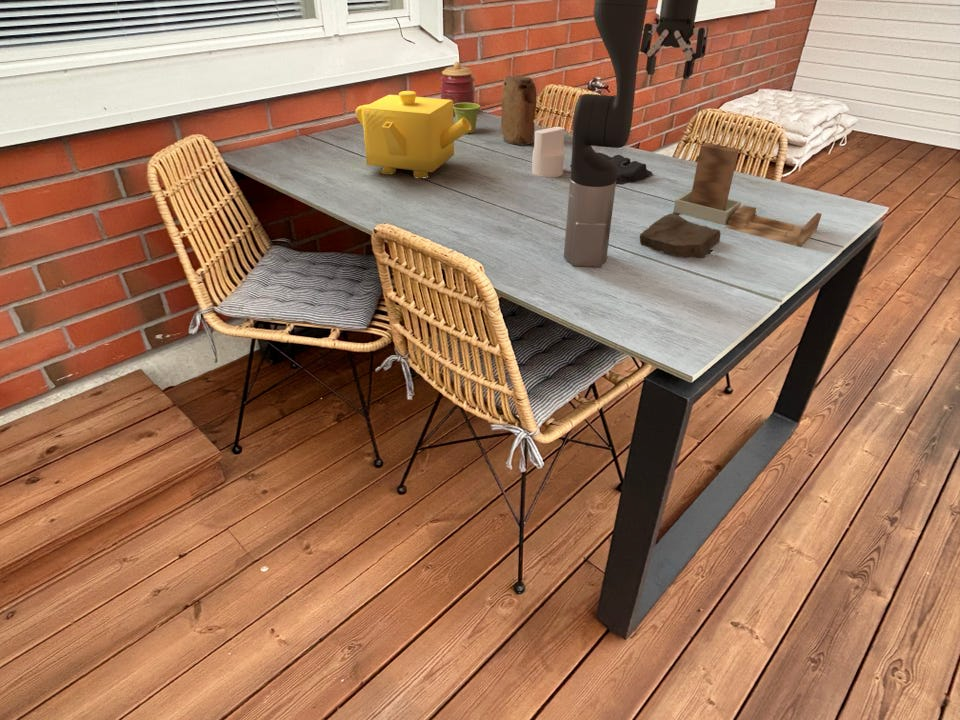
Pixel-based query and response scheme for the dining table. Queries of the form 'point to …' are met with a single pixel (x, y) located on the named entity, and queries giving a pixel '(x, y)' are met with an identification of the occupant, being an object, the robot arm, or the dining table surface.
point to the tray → (705, 209)
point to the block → (518, 110)
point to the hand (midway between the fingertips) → (668, 76)
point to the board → (714, 176)
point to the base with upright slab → (548, 152)
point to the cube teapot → (410, 132)
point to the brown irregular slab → (680, 237)
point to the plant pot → (467, 113)
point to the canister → (457, 84)
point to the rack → (771, 227)
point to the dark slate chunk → (627, 169)
